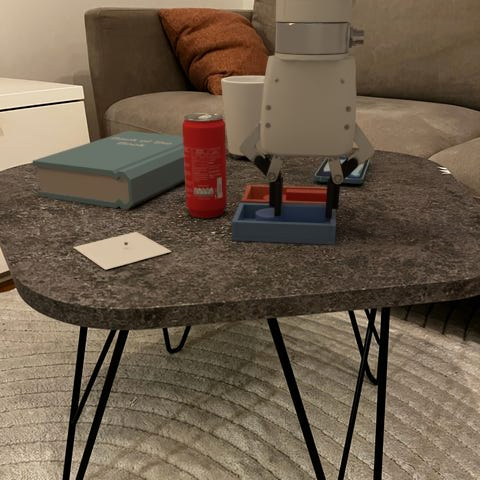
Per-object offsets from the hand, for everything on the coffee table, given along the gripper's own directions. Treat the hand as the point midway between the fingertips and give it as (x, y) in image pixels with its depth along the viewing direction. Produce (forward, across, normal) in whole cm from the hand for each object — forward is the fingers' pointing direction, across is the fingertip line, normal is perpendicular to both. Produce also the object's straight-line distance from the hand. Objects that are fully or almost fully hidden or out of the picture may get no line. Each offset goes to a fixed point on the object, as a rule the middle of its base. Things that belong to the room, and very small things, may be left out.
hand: (303, 212), depth 69 cm
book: (+3, +27, -19) cm, 33 cm away
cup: (+3, +11, -38) cm, 40 cm away
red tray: (+3, +2, -8) cm, 9 cm away
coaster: (+3, +20, +8) cm, 21 cm away
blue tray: (+3, +2, 0) cm, 3 cm away
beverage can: (+3, +13, -6) cm, 14 cm away
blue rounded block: (+1, +1, 0) cm, 2 cm away
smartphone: (+3, -5, -28) cm, 29 cm away
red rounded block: (+2, +1, -8) cm, 8 cm away
